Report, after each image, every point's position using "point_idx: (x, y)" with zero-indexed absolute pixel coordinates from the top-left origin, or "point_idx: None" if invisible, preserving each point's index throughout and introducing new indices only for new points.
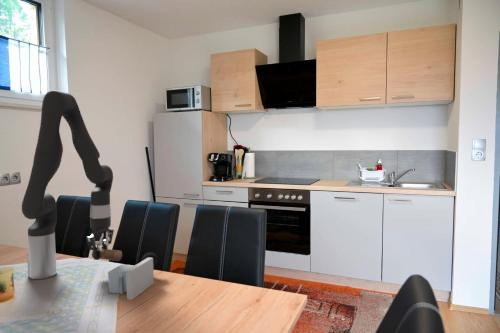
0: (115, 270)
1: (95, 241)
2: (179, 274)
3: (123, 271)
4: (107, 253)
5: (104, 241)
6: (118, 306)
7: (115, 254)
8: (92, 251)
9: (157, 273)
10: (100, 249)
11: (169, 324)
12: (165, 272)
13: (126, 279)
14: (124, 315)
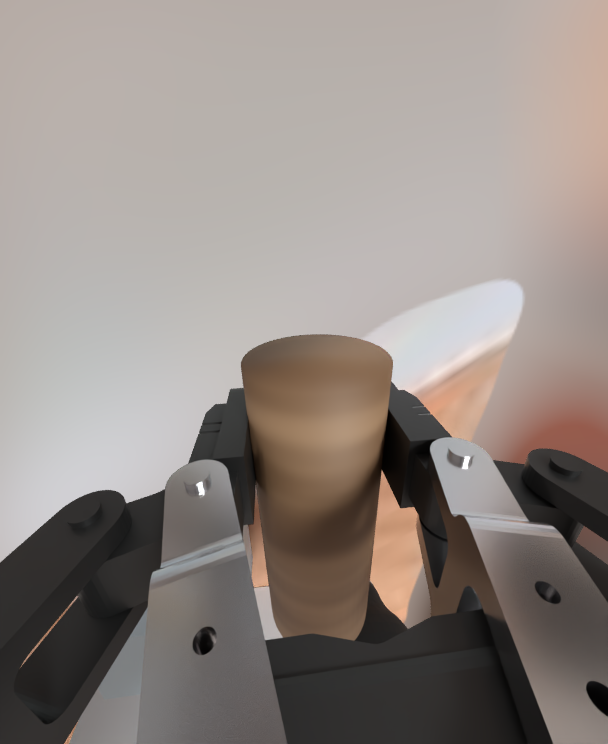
0: (120, 657)
1: (253, 622)
2: (399, 618)
3: (132, 692)
4: (271, 567)
5: (440, 603)
6: (63, 613)
7: (278, 626)
8: (251, 382)
9: (397, 556)
10: (304, 493)
11: (70, 739)
12: (413, 574)
13: (78, 723)
14: (28, 657)
